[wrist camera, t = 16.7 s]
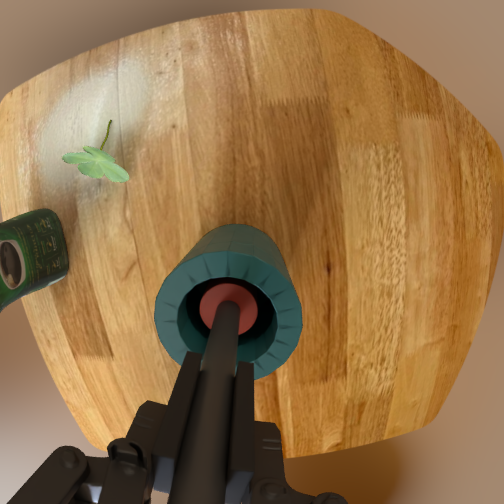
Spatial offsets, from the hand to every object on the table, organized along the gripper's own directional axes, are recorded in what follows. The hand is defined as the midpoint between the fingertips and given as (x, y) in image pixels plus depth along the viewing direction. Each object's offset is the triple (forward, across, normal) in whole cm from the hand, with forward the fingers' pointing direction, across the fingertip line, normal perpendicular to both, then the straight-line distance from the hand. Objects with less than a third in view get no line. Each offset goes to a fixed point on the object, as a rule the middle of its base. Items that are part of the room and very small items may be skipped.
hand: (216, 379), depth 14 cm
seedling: (+19, -16, +10) cm, 27 cm away
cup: (+19, 0, 0) cm, 19 cm away
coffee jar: (+19, -25, -2) cm, 32 cm away
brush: (+13, 0, 0) cm, 13 cm away
